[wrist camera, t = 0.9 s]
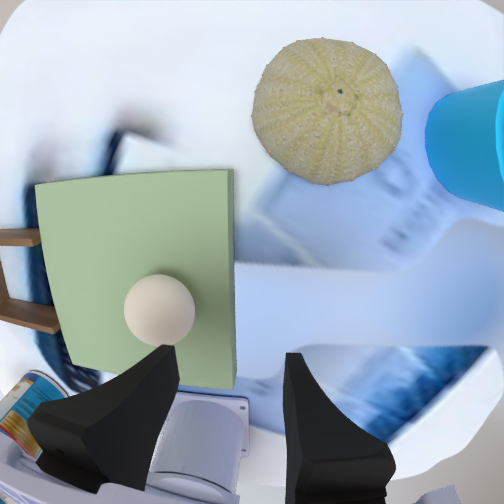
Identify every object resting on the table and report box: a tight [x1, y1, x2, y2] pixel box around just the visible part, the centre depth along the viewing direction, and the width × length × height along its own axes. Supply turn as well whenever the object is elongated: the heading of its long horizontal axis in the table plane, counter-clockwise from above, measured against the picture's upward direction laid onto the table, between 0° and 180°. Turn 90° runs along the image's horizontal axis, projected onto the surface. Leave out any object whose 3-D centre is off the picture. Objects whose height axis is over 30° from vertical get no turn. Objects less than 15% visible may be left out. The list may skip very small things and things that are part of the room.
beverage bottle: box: [0, 371, 68, 504], centre depth 19 cm, size 8×8×20 cm
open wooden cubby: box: [0, 228, 61, 334], centre depth 20 cm, size 11×11×7 cm
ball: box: [124, 274, 195, 347], centre depth 18 cm, size 4×4×4 cm
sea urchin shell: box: [251, 37, 403, 186], centre depth 16 cm, size 9×8×8 cm
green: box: [35, 169, 237, 390], centre depth 21 cm, size 16×15×2 cm
